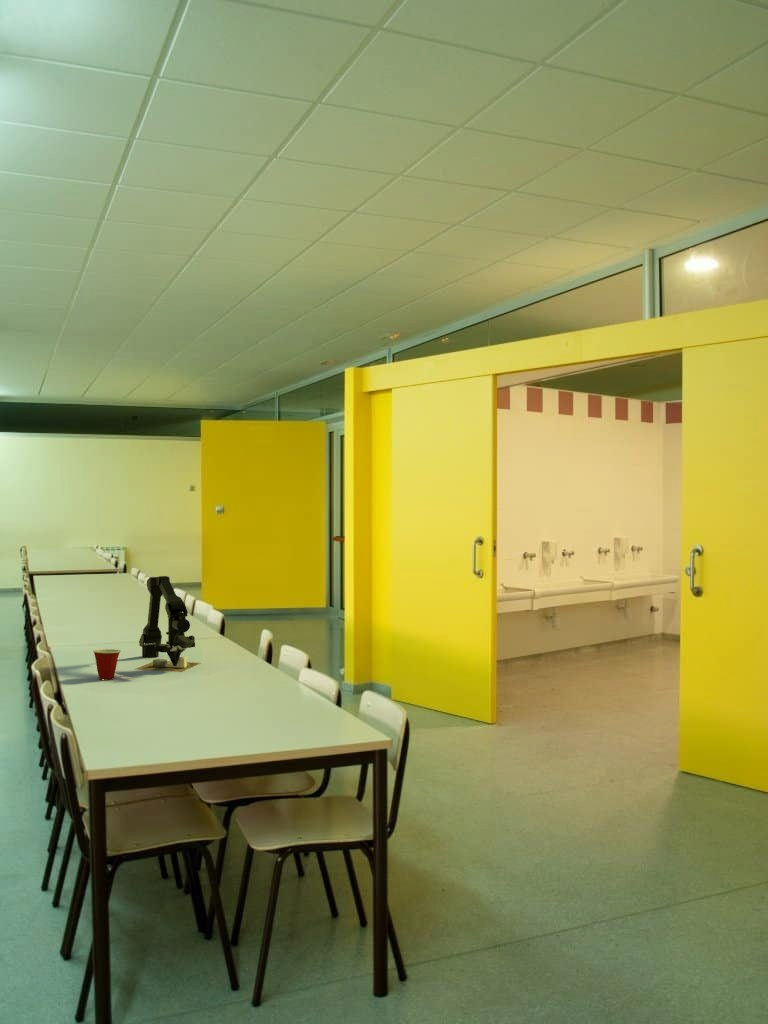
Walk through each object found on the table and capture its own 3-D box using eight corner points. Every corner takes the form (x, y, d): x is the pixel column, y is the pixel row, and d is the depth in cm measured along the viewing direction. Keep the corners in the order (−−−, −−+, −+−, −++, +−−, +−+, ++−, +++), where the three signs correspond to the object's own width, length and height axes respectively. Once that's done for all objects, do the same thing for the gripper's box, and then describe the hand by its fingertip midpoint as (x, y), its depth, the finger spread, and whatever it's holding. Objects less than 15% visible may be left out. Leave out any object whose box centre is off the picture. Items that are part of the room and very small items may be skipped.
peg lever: (150, 666, 370) (150, 657, 370) (156, 664, 376) (157, 654, 376) (182, 668, 367) (182, 659, 367) (188, 666, 373) (188, 656, 373)
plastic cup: (126, 677, 355) (126, 648, 355) (107, 682, 345) (107, 652, 345) (106, 675, 360) (106, 646, 360) (87, 680, 350) (87, 650, 350)
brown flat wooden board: (133, 672, 367) (133, 669, 366) (156, 663, 387) (156, 660, 387) (181, 674, 362) (181, 671, 362) (202, 665, 382) (202, 662, 382)
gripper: (172, 633, 355) (172, 671, 355) (204, 628, 371) (204, 664, 371) (153, 631, 361) (153, 668, 361) (185, 626, 377) (185, 662, 377)
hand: (174, 666), depth 367 cm, fingers closed
